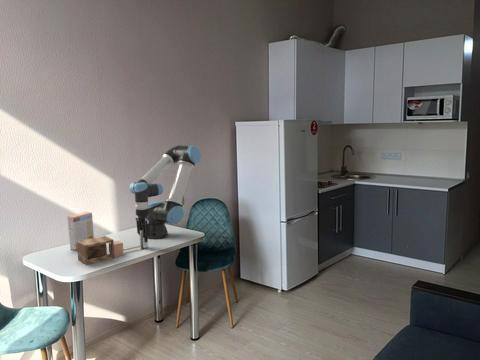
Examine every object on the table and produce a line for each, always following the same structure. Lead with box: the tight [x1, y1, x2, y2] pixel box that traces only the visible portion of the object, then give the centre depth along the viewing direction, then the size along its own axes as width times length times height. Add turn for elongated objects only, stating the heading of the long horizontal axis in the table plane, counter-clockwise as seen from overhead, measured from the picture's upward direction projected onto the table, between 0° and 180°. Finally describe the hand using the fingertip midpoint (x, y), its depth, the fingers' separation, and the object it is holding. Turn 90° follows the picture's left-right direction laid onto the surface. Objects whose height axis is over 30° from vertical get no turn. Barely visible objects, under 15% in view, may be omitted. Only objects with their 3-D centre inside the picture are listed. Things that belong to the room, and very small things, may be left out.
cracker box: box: [67, 211, 95, 252], centre depth 258 cm, size 14×6×21 cm, turn 149°
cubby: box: [77, 235, 116, 266], centre depth 235 cm, size 16×11×11 cm
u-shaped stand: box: [108, 230, 148, 257], centre depth 248 cm, size 22×6×11 cm, turn 131°
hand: (144, 246), depth 255 cm, fingers closed on u-shaped stand, 3 cm apart
